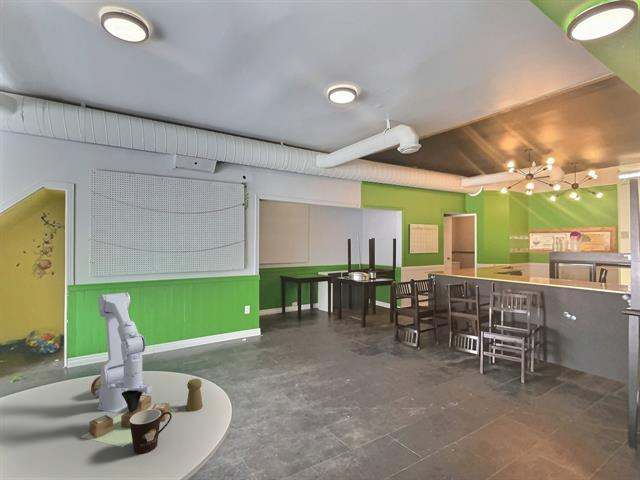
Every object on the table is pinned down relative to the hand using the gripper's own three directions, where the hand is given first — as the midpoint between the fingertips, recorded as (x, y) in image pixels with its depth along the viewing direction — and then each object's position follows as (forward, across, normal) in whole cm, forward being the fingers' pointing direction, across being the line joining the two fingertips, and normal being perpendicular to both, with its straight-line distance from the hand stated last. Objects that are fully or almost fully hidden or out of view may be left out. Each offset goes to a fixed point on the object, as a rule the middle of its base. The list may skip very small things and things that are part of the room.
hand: (132, 410), depth 114 cm
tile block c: (+5, -6, +9) cm, 12 cm away
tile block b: (+5, +6, +6) cm, 10 cm away
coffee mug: (+5, +16, -8) cm, 19 cm away
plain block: (+5, 0, 0) cm, 5 cm away
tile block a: (+5, -6, -7) cm, 10 cm away
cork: (+5, +13, +16) cm, 21 cm away
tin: (+6, -31, +17) cm, 36 cm away
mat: (+5, -1, +1) cm, 5 cm away
